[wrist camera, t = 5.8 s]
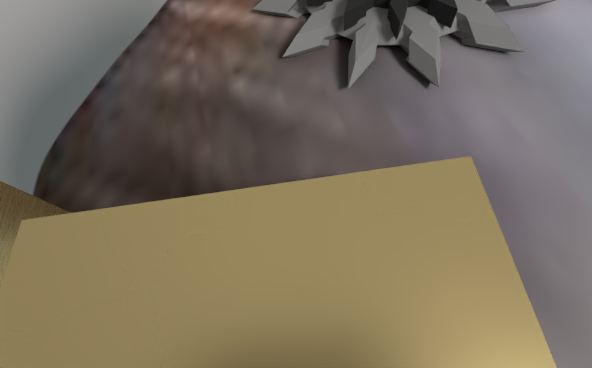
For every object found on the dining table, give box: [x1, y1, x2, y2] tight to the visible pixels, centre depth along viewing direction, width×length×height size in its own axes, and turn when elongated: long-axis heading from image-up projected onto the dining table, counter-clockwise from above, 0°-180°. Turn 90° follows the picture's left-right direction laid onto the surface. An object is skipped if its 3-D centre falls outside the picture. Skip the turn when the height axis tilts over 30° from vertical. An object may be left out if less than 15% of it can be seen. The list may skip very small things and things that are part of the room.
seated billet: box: [0, 181, 70, 288], centre depth 16 cm, size 4×4×12 cm
